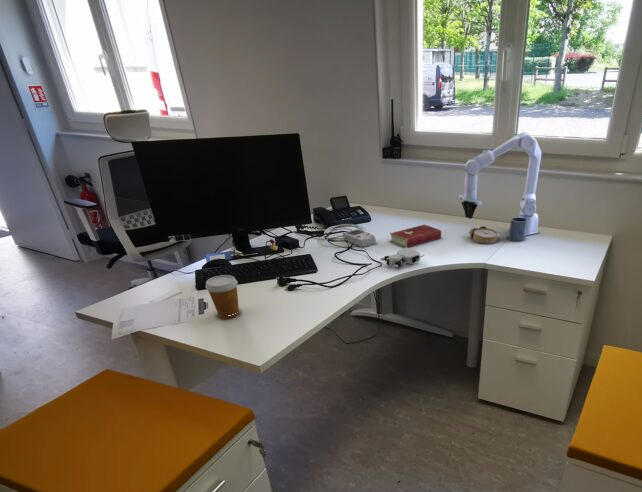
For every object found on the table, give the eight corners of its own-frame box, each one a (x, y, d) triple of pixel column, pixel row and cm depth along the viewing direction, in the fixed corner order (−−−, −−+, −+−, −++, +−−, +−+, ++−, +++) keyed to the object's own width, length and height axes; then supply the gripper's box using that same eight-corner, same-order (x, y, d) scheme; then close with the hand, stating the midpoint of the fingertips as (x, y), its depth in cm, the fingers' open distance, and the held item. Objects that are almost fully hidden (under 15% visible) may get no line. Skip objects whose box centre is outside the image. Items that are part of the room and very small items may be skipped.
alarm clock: (485, 239, 203) (464, 225, 212) (483, 249, 206) (462, 235, 215) (503, 234, 208) (482, 221, 217) (501, 244, 211) (480, 230, 220)
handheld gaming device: (361, 248, 202) (361, 239, 200) (343, 240, 212) (342, 231, 210) (377, 244, 207) (377, 235, 205) (358, 236, 217) (358, 228, 215)
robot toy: (396, 274, 179) (426, 263, 186) (395, 263, 176) (425, 252, 183) (379, 265, 187) (408, 254, 194) (378, 254, 185) (407, 244, 191)
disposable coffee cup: (218, 308, 152) (209, 275, 146) (247, 307, 153) (239, 274, 147) (209, 321, 144) (200, 287, 138) (240, 320, 145) (232, 286, 139)
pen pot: (516, 235, 217) (519, 216, 212) (527, 239, 212) (530, 220, 207) (505, 238, 214) (507, 218, 209) (516, 242, 208) (518, 222, 204)
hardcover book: (441, 238, 213) (441, 229, 211) (406, 248, 202) (406, 239, 200) (424, 232, 221) (424, 223, 219) (390, 241, 210) (390, 232, 207)
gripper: (454, 186, 212) (453, 215, 220) (473, 192, 202) (472, 222, 209) (466, 184, 216) (464, 213, 223) (486, 190, 205) (483, 220, 213)
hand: (468, 217), depth 216 cm, fingers closed
